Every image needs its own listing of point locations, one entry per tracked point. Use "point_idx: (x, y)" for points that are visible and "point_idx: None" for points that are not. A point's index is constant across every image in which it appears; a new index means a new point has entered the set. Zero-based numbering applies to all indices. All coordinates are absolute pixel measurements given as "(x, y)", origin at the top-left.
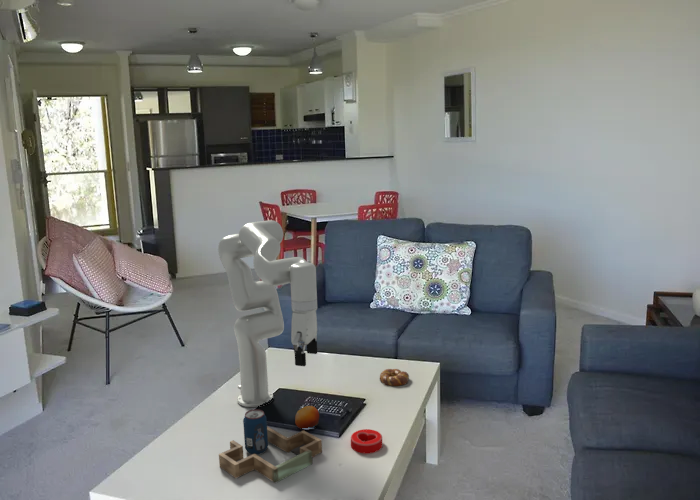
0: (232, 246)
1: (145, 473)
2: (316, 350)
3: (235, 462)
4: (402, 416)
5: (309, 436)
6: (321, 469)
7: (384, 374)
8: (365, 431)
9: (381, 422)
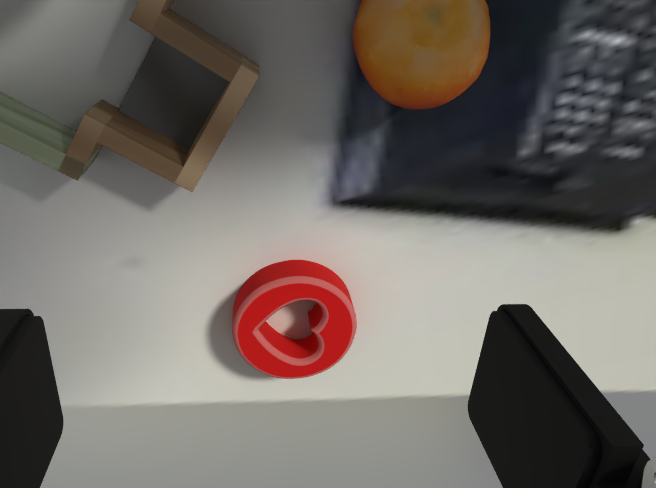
0: None
1: None
2: (490, 448)
3: None
4: None
5: (206, 126)
6: (69, 207)
7: None
8: (334, 320)
9: (466, 318)
